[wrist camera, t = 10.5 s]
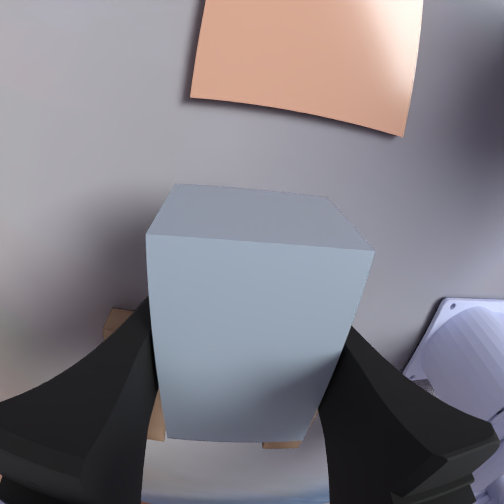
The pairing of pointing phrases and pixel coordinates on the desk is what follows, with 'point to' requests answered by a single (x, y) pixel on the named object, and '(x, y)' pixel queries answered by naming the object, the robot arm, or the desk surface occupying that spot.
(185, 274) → the block
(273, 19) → the tile
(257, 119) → the desk surface
